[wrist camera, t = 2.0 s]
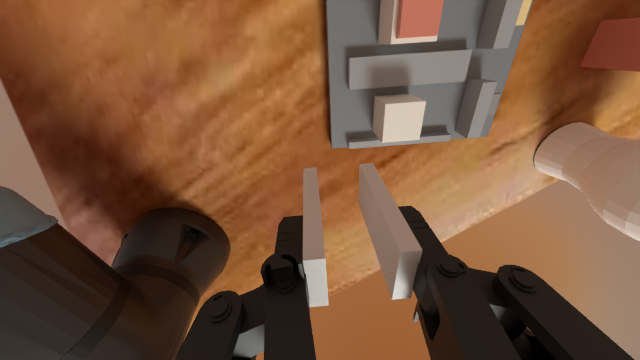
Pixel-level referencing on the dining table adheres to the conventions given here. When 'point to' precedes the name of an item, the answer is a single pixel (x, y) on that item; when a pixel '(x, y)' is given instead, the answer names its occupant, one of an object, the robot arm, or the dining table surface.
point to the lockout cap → (615, 45)
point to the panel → (421, 68)
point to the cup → (597, 171)
